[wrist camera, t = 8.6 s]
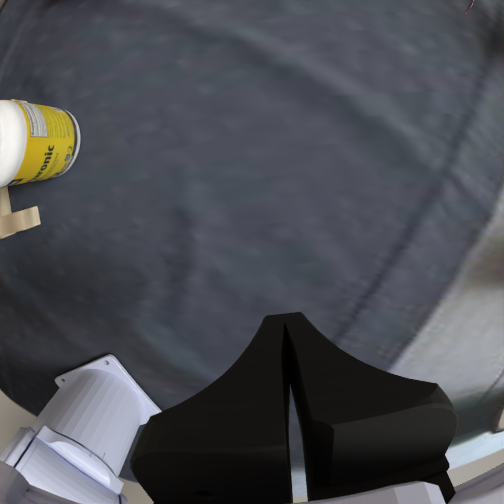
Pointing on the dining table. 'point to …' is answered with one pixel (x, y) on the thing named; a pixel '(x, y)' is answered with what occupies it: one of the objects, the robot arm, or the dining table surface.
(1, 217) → the u rest
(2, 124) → the supplement bottle
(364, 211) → the dining table surface
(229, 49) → the dining table surface
